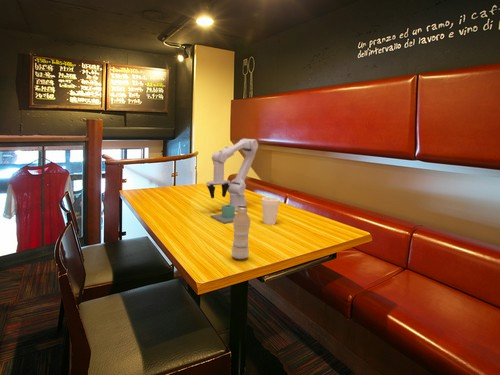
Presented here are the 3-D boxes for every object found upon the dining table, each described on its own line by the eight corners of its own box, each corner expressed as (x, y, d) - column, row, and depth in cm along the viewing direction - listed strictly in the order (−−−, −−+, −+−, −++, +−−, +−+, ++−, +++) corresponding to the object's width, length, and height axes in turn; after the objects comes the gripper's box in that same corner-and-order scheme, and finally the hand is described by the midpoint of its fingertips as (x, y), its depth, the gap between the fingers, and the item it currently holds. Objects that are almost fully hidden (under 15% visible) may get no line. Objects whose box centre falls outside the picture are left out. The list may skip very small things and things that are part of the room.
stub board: (231, 214, 183) (232, 206, 182) (246, 220, 172) (246, 212, 171) (210, 217, 174) (210, 209, 173) (224, 223, 163) (224, 215, 162)
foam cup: (280, 222, 171) (281, 198, 169) (275, 226, 163) (277, 201, 160) (263, 219, 174) (264, 196, 172) (258, 224, 166) (259, 199, 163)
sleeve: (229, 215, 176) (229, 204, 175) (234, 217, 172) (234, 206, 171) (221, 216, 173) (222, 205, 172) (226, 218, 169) (227, 207, 168)
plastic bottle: (238, 253, 126) (240, 203, 122) (252, 257, 122) (254, 207, 118) (227, 258, 121) (229, 206, 117) (242, 263, 117) (244, 210, 113)
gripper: (211, 175, 171) (210, 200, 174) (233, 173, 180) (232, 197, 183) (204, 173, 177) (204, 197, 179) (226, 172, 186) (225, 195, 188)
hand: (218, 197), depth 181 cm, fingers open, 7 cm apart
